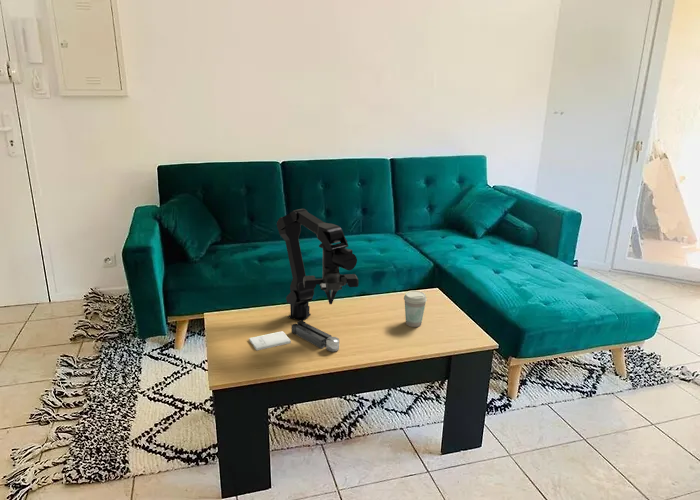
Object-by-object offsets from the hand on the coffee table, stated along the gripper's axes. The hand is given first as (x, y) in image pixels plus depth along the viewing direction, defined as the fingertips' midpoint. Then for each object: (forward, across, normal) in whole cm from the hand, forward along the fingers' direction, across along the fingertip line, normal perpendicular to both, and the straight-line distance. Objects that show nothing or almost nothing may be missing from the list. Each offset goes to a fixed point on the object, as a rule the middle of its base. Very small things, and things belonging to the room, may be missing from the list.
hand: (330, 303), depth 186 cm
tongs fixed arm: (+12, -8, -3) cm, 15 cm away
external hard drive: (+13, -22, -3) cm, 25 cm away
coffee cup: (+12, +32, +5) cm, 35 cm away
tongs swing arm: (+11, -5, -4) cm, 13 cm away
